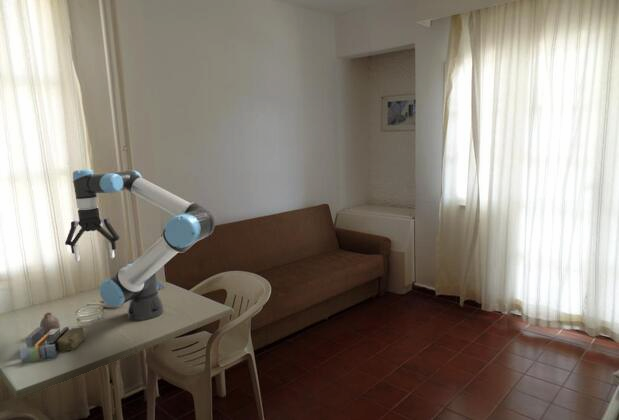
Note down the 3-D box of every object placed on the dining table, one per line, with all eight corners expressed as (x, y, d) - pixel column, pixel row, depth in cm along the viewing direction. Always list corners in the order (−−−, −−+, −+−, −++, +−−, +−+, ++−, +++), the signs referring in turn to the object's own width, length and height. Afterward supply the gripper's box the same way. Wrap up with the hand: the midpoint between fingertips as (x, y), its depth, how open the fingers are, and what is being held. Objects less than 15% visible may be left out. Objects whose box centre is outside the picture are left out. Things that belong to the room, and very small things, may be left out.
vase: (46, 339, 170) (43, 318, 169) (38, 335, 174) (34, 315, 172) (64, 332, 176) (61, 311, 175) (55, 329, 180) (52, 309, 178)
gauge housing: (71, 340, 167) (69, 324, 166) (55, 358, 153) (52, 340, 152) (40, 344, 166) (37, 327, 165) (21, 362, 152) (18, 344, 151)
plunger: (70, 337, 169) (67, 323, 168) (50, 359, 152) (47, 343, 151) (58, 338, 169) (56, 324, 168) (37, 360, 152) (34, 344, 151)
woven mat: (165, 289, 223) (164, 285, 223) (144, 294, 217) (143, 291, 216) (159, 284, 231) (158, 281, 231) (138, 289, 225) (138, 286, 225)
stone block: (86, 337, 170) (84, 326, 169) (73, 352, 158) (71, 339, 158) (71, 339, 169) (69, 327, 168) (57, 353, 158) (55, 341, 157)
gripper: (123, 204, 178) (129, 253, 181) (59, 209, 174) (66, 259, 178) (117, 207, 170) (124, 258, 174) (50, 212, 167) (59, 264, 171)
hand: (95, 259), depth 176 cm, fingers open, 13 cm apart
